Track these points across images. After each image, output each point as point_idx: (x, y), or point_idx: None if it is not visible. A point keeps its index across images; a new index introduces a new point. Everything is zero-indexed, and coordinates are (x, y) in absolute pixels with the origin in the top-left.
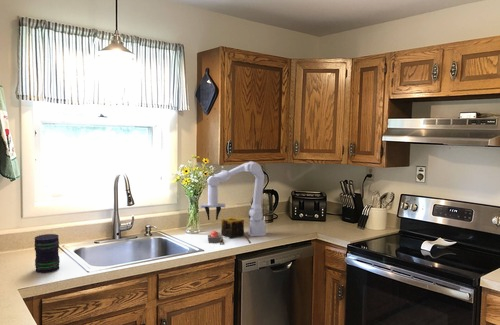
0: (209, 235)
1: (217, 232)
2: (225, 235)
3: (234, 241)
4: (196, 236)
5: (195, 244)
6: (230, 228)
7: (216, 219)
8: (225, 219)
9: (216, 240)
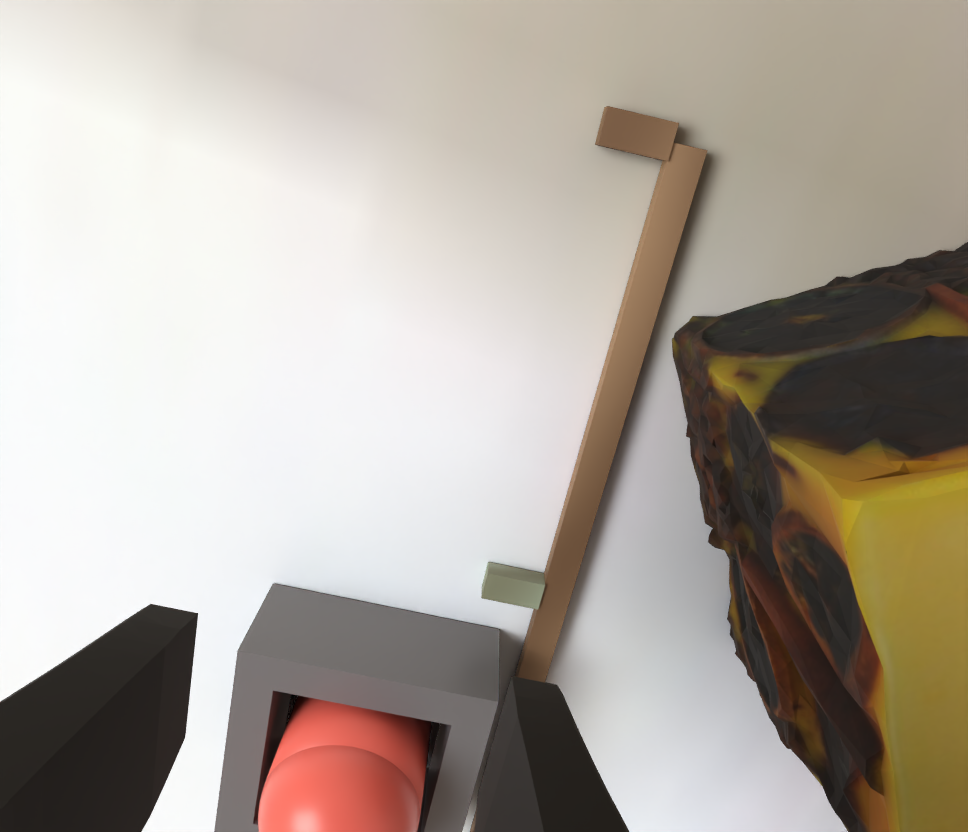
0: (261, 711)
1: (654, 133)
2: (705, 506)
3: (708, 814)
4: (70, 230)
5: None
6: (833, 759)
7: (481, 816)
8: (951, 658)
9: None
